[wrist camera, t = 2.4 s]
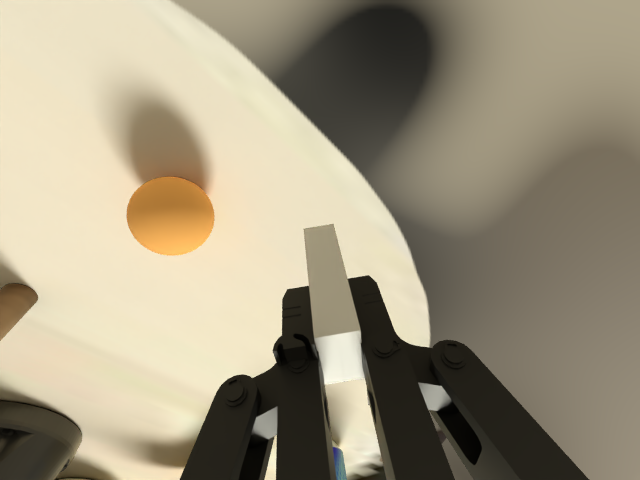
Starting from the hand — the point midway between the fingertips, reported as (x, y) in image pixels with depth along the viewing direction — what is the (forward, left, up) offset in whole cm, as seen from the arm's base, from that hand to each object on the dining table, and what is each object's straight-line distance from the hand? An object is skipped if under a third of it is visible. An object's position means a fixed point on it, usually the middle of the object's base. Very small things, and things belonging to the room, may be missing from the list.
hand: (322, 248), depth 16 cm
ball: (-10, 0, -7) cm, 12 cm away
